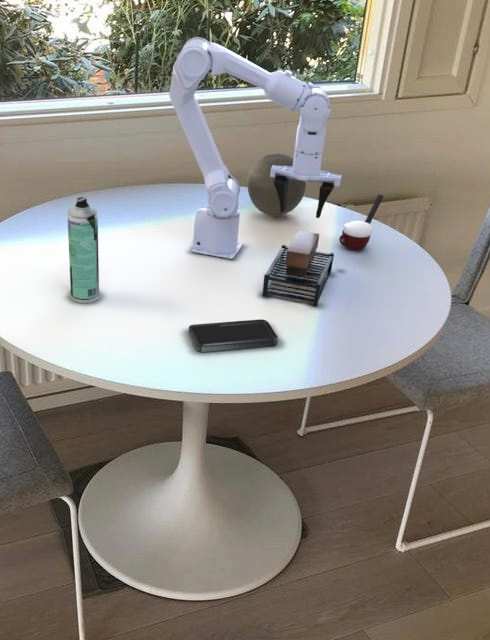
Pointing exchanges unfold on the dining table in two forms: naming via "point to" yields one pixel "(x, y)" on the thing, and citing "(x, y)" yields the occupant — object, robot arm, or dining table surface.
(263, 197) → the cantaloupe
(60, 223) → the dining table surface
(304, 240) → the shoe brush
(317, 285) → the shoe rack
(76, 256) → the spray can
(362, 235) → the cocoa
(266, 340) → the phone
